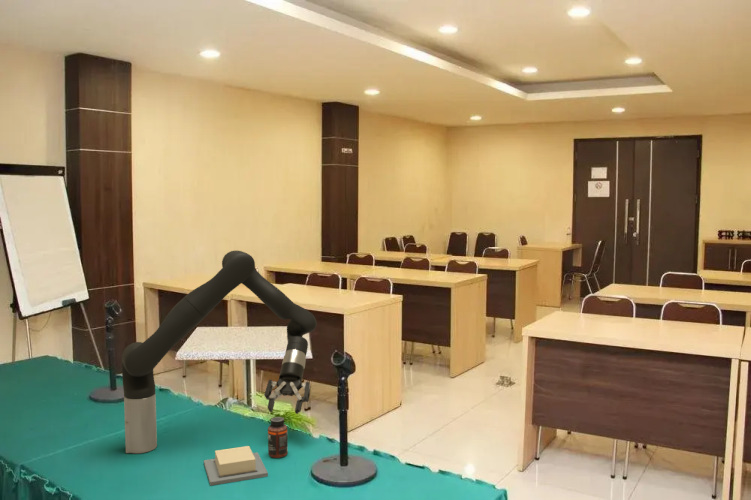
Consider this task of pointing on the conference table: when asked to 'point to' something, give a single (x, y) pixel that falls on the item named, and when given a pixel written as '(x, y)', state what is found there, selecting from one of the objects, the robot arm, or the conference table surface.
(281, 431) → the supplement bottle
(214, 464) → the board
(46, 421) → the conference table surface
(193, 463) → the conference table surface
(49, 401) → the conference table surface
